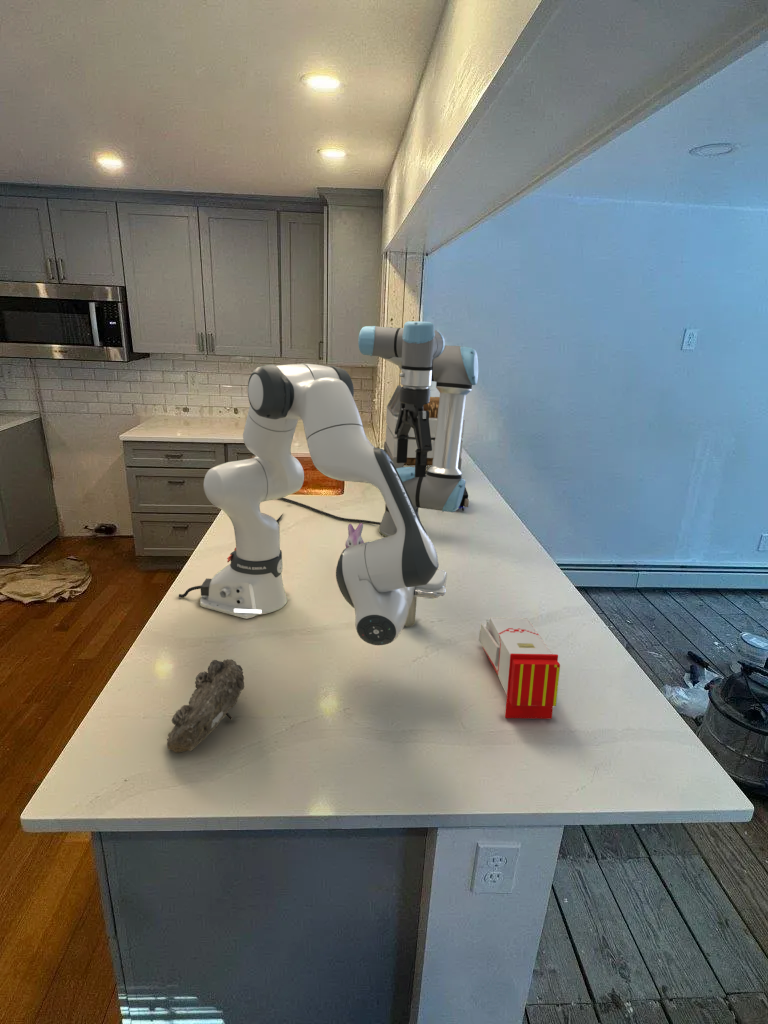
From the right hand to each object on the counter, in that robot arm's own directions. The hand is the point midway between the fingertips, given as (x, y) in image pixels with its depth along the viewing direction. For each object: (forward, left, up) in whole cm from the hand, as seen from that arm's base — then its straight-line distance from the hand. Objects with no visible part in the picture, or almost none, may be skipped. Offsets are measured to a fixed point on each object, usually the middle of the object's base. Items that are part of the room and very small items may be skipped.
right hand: (410, 469), depth 148 cm
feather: (-69, +2, -35) cm, 78 cm away
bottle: (+13, -11, -35) cm, 39 cm away
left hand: (+20, -20, -14) cm, 31 cm away
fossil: (+16, -64, -35) cm, 75 cm away
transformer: (-85, +89, -35) cm, 128 cm away
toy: (+44, -8, -35) cm, 57 cm away
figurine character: (-40, +67, -35) cm, 86 cm away
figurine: (-17, -3, -35) cm, 39 cm away
